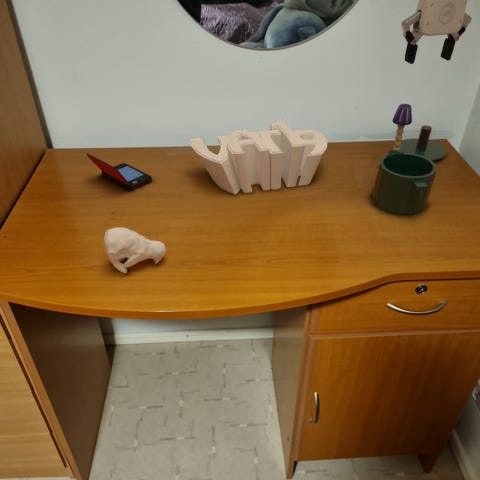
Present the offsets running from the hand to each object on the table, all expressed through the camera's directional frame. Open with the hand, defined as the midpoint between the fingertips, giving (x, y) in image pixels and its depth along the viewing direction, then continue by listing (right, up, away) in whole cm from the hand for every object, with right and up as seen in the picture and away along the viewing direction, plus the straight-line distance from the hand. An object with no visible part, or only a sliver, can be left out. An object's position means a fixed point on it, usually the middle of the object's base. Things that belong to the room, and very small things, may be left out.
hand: (427, 60), depth 113 cm
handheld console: (-75, -25, +11) cm, 80 cm away
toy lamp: (-4, -21, +15) cm, 26 cm away
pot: (-6, -32, +3) cm, 33 cm away
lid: (+7, -13, +22) cm, 27 cm away
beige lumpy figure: (-65, -50, -14) cm, 83 cm away
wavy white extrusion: (-39, -23, +13) cm, 47 cm away
